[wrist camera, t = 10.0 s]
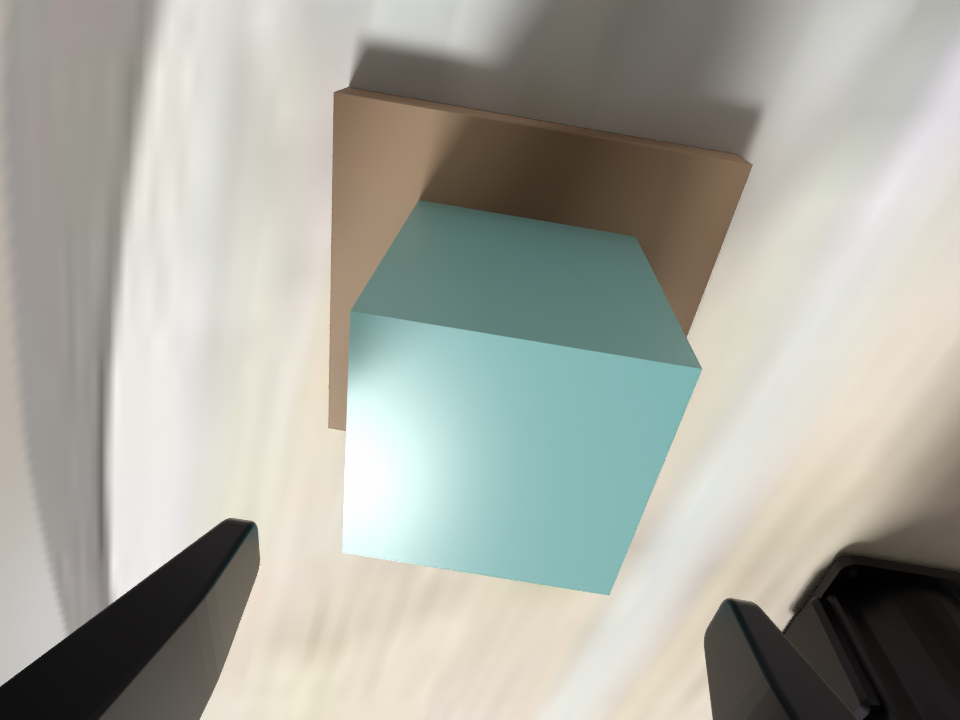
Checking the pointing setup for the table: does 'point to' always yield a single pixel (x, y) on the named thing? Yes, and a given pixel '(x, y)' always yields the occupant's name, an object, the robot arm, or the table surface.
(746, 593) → the table surface
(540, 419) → the teal block
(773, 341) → the table surface
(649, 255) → the post board
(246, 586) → the robot arm
